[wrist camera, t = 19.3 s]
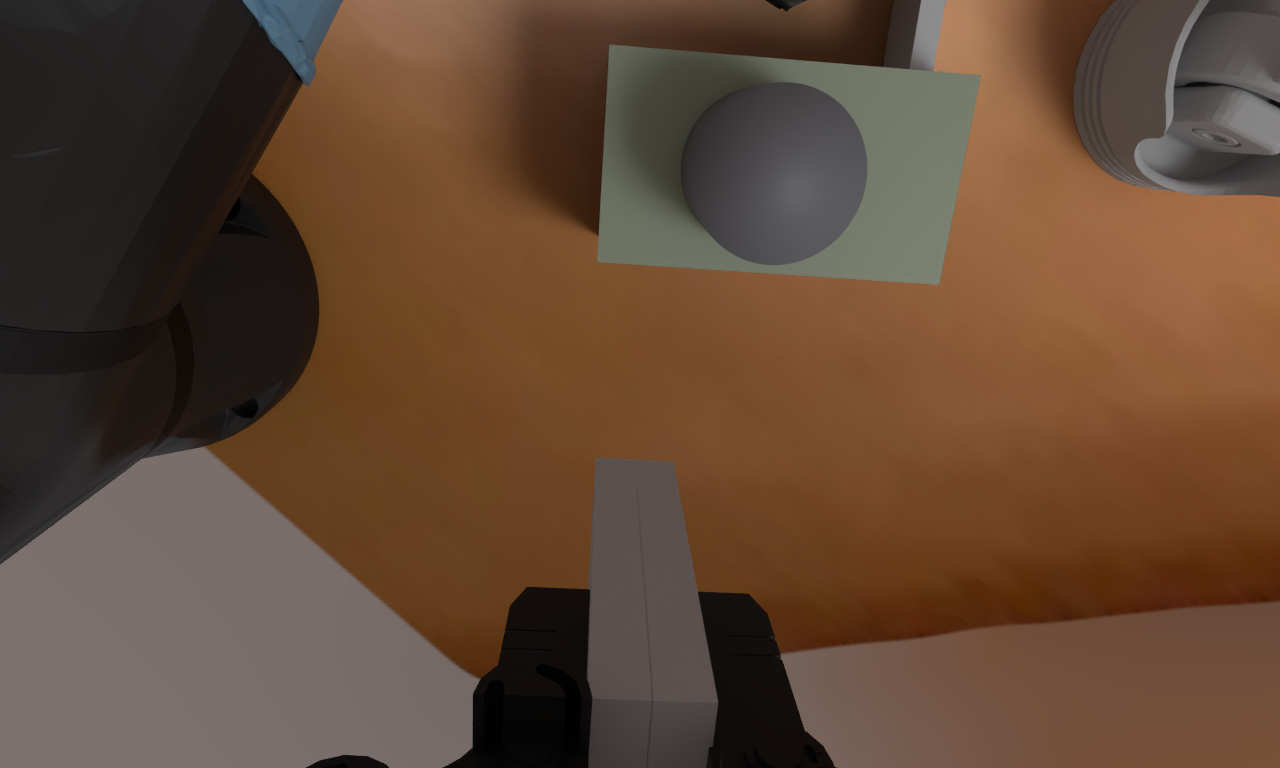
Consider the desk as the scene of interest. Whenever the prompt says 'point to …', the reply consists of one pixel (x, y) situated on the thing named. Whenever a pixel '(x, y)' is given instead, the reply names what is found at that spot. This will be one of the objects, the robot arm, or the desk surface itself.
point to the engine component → (1184, 95)
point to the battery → (785, 3)
